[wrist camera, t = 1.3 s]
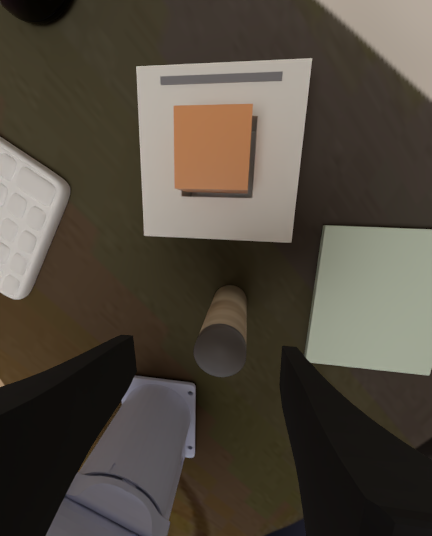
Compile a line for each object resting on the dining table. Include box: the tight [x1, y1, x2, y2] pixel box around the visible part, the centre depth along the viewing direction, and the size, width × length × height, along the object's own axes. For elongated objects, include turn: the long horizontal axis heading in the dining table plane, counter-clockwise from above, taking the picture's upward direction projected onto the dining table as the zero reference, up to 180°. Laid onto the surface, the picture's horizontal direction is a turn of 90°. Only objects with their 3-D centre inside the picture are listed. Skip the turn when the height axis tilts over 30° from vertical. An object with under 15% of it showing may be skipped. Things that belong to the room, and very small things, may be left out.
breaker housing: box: [136, 58, 312, 243], centre depth 16 cm, size 10×10×4 cm
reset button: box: [174, 104, 253, 194], centre depth 13 cm, size 4×4×3 cm
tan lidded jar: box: [194, 285, 247, 377], centre depth 17 cm, size 3×3×8 cm
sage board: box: [304, 225, 432, 375], centre depth 19 cm, size 12×10×1 cm
